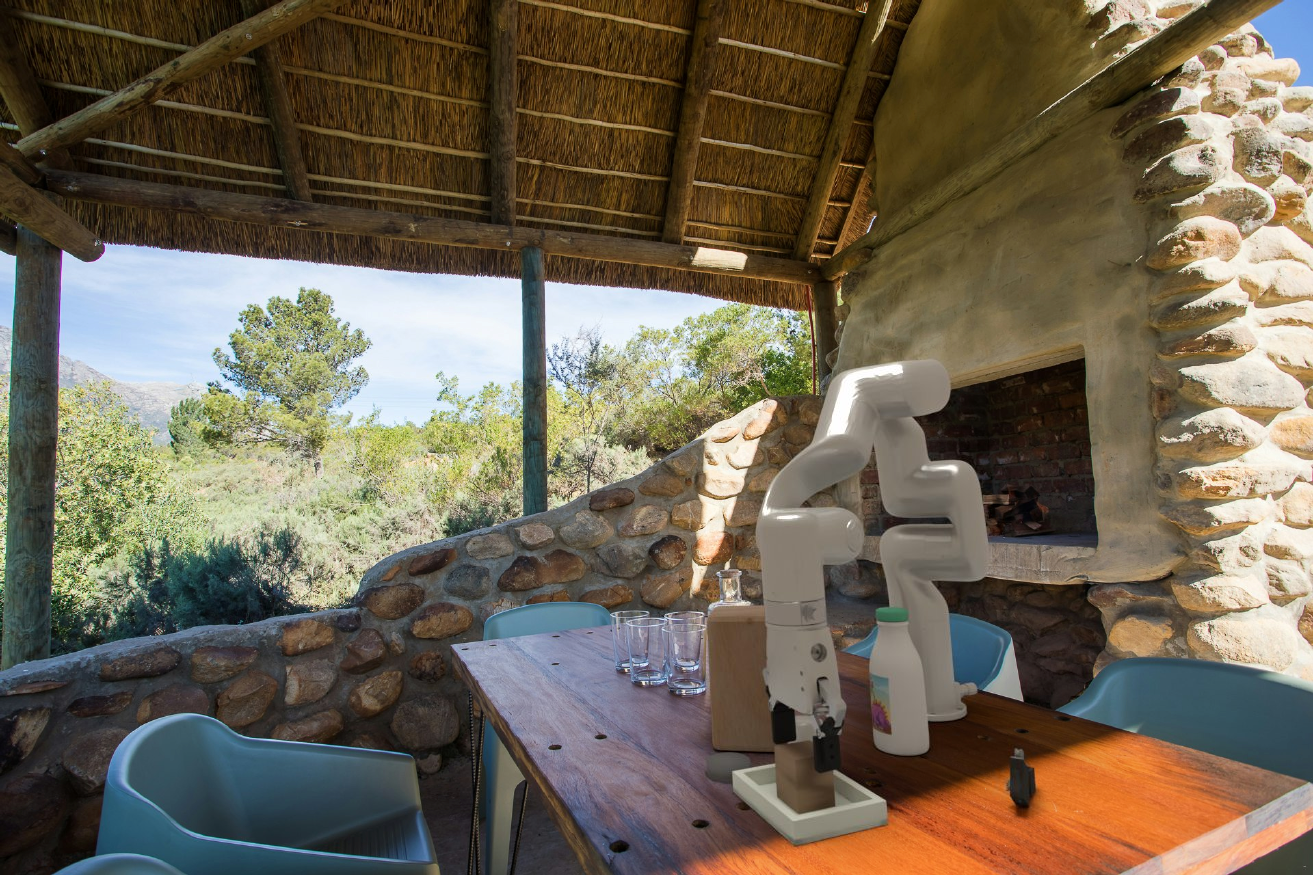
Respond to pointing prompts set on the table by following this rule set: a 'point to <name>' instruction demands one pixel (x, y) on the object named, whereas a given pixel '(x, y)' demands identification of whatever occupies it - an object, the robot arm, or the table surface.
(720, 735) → the wooden block
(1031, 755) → the table surface
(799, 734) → the white rounded cylinder
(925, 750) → the milk bottle
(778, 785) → the walnut block
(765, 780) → the tray
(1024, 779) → the lighter
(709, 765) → the gray rounded object
